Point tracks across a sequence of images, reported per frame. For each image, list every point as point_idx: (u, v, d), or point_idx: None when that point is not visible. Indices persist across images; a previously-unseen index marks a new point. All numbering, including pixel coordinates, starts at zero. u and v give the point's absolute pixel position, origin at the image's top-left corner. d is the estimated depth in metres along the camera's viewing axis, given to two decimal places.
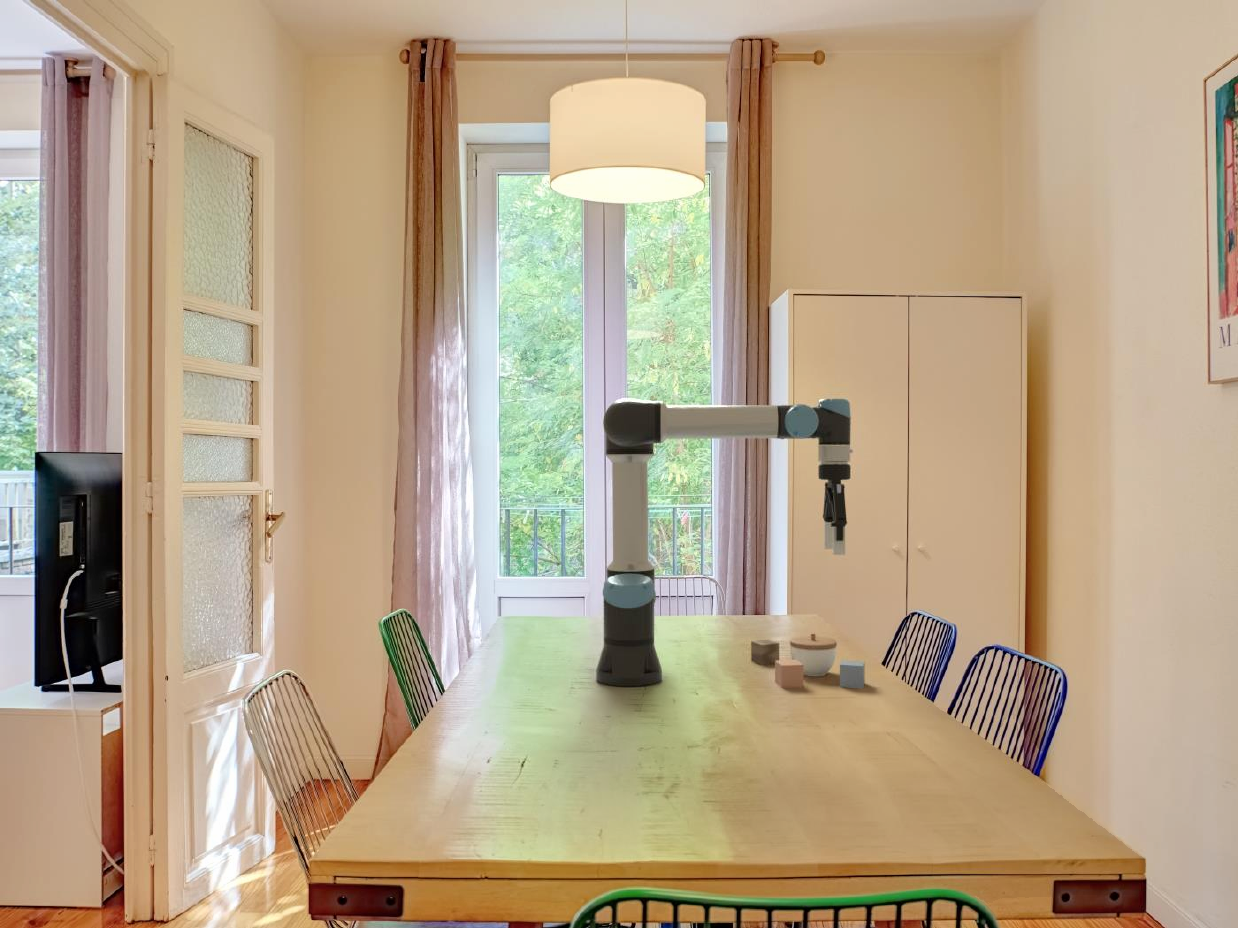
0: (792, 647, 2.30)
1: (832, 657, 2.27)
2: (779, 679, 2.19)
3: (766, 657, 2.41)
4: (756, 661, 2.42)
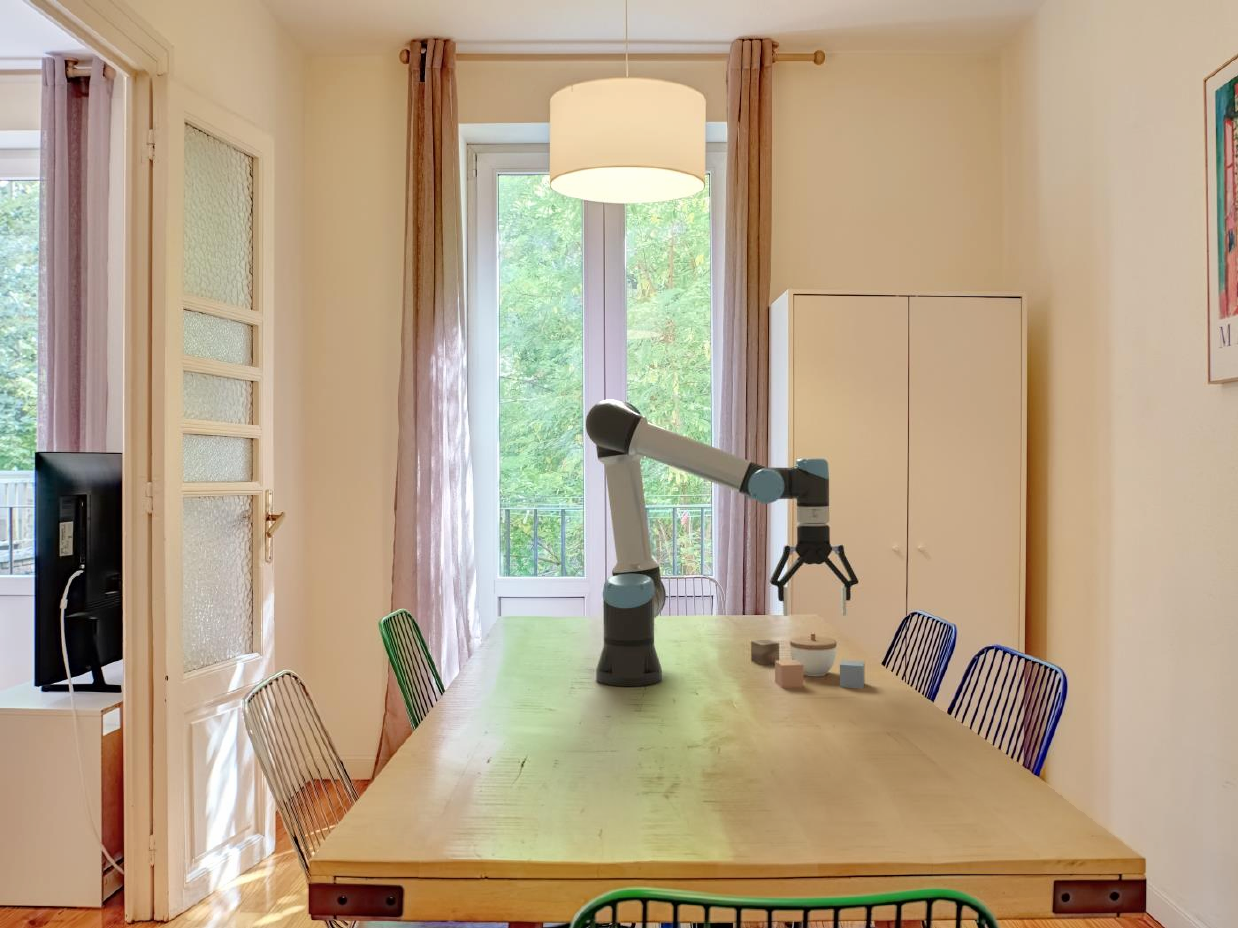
0: (792, 647, 2.30)
1: (832, 657, 2.27)
2: (779, 679, 2.19)
3: (766, 657, 2.41)
4: (756, 661, 2.42)
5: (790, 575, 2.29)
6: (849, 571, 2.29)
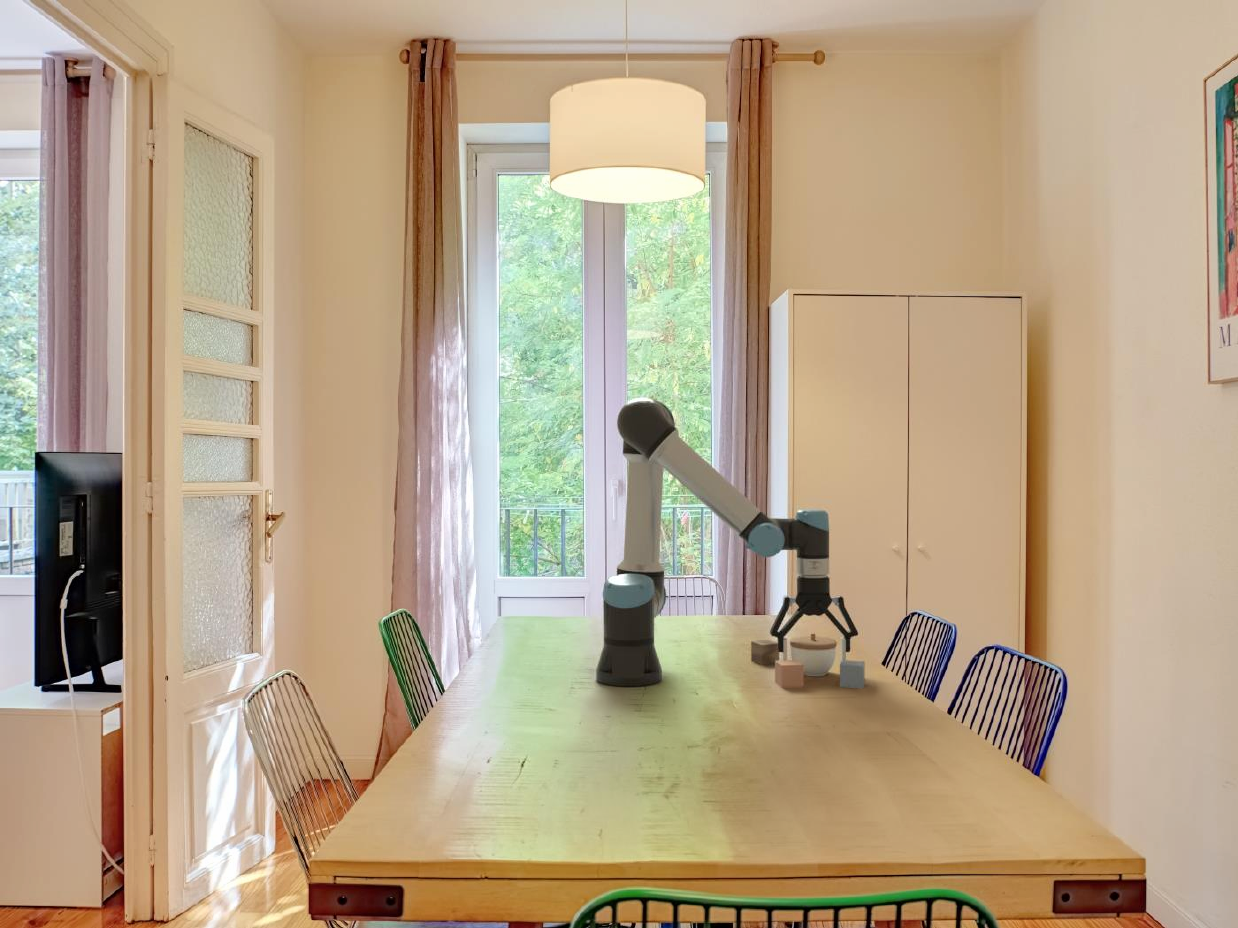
0: (792, 647, 2.30)
1: (832, 657, 2.27)
2: (779, 679, 2.19)
3: (766, 657, 2.41)
4: (756, 661, 2.42)
5: (790, 626, 2.30)
6: (849, 623, 2.29)
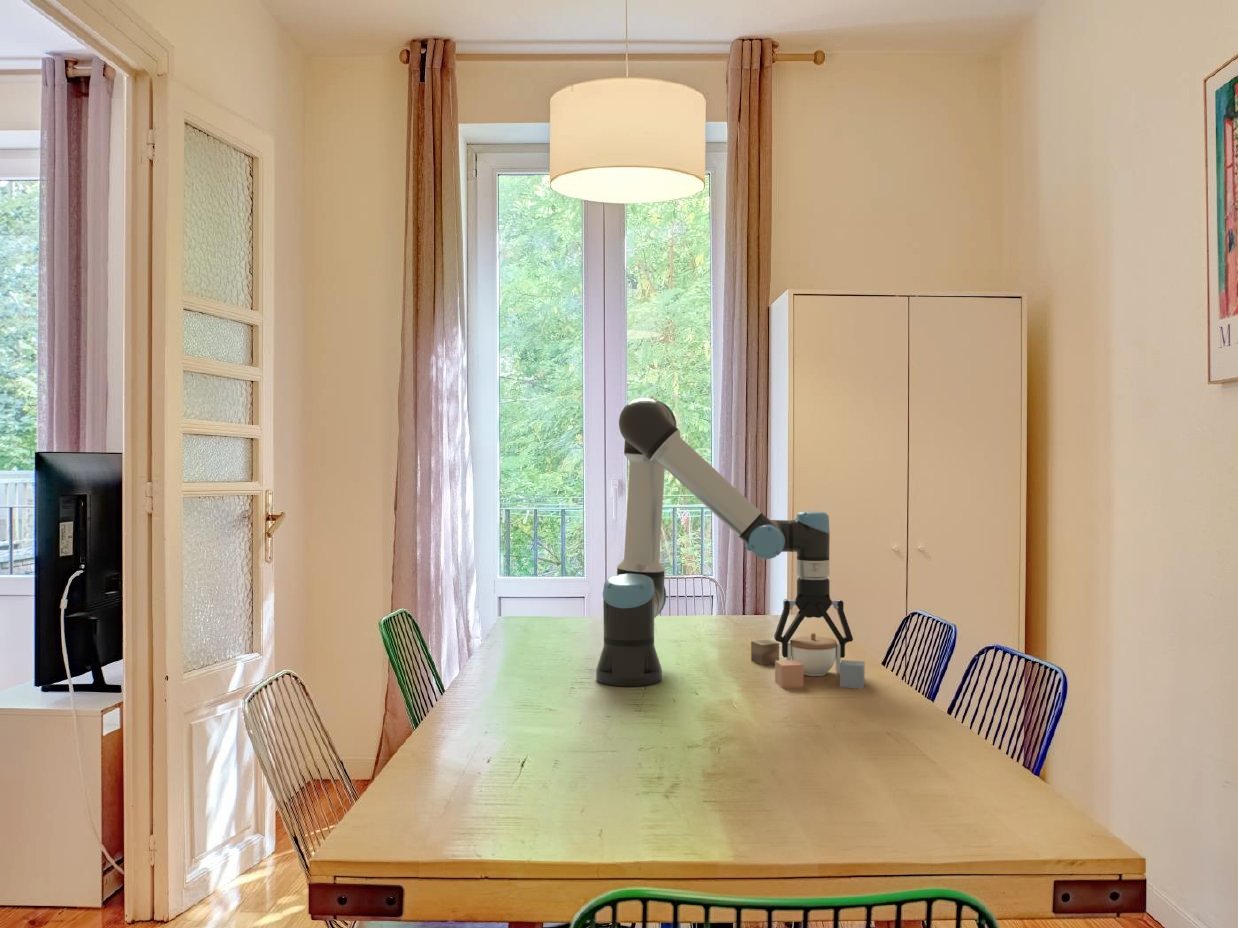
0: (792, 647, 2.30)
1: (832, 657, 2.27)
2: (779, 679, 2.19)
3: (766, 657, 2.41)
4: (756, 661, 2.42)
5: (793, 630, 2.30)
6: (845, 628, 2.29)
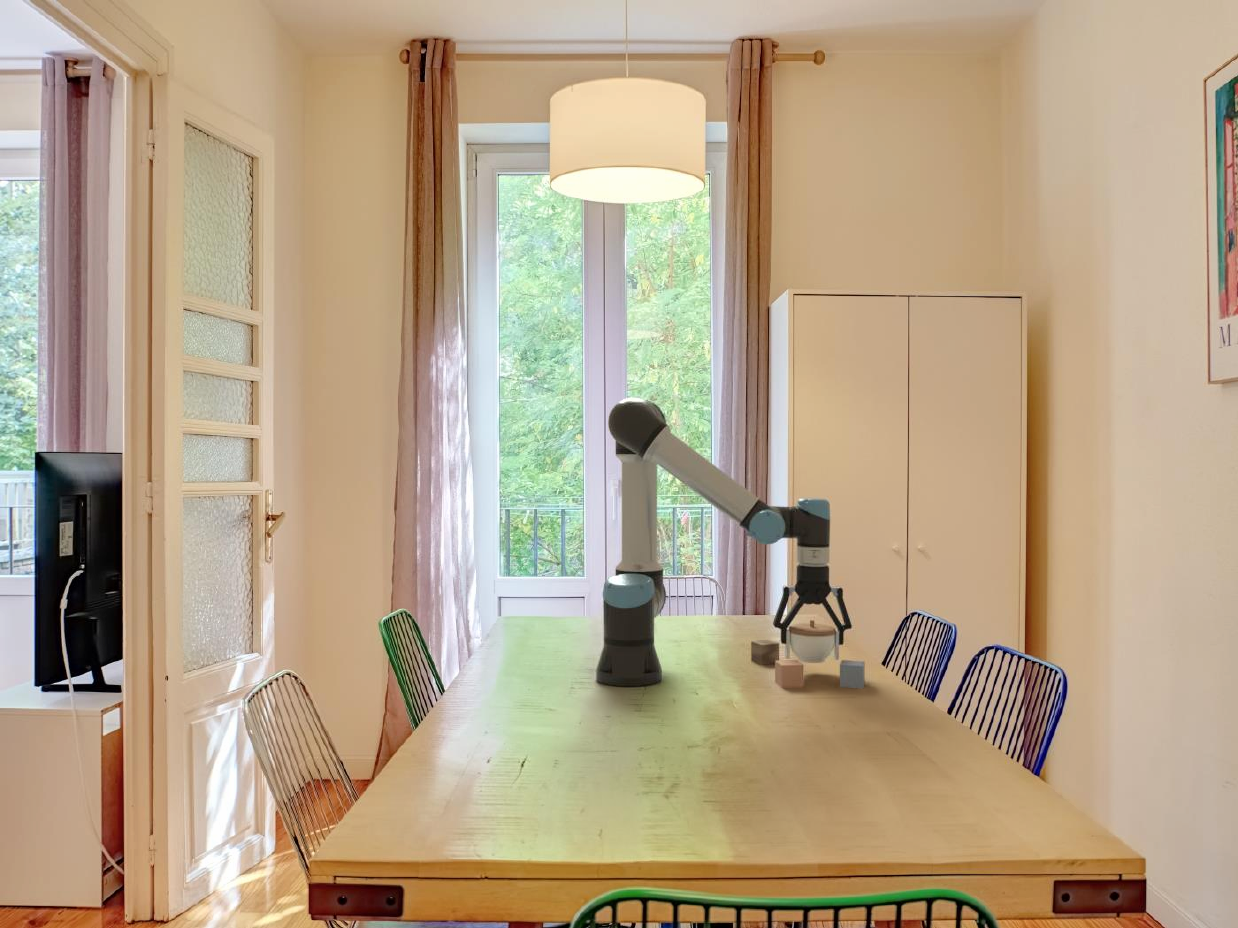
0: (791, 633, 2.30)
1: (830, 644, 2.27)
2: (779, 679, 2.19)
3: (766, 657, 2.41)
4: (756, 661, 2.42)
5: (792, 617, 2.30)
6: (844, 615, 2.29)
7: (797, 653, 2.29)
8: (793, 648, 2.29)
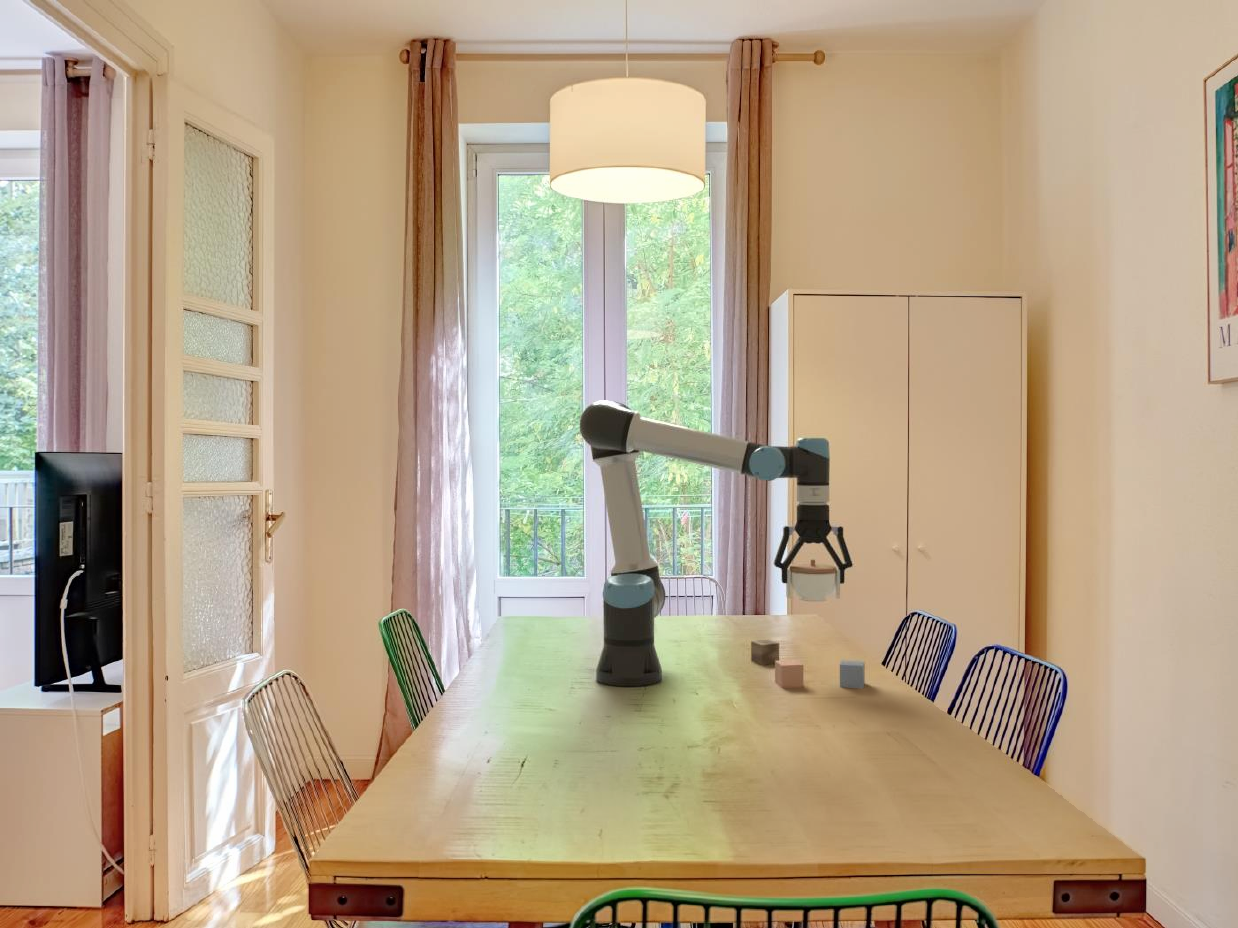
0: (792, 573, 2.30)
1: (831, 582, 2.27)
2: (779, 679, 2.19)
3: (766, 657, 2.41)
4: (756, 661, 2.42)
5: (792, 556, 2.30)
6: (845, 553, 2.29)
7: (798, 592, 2.28)
8: (794, 587, 2.29)
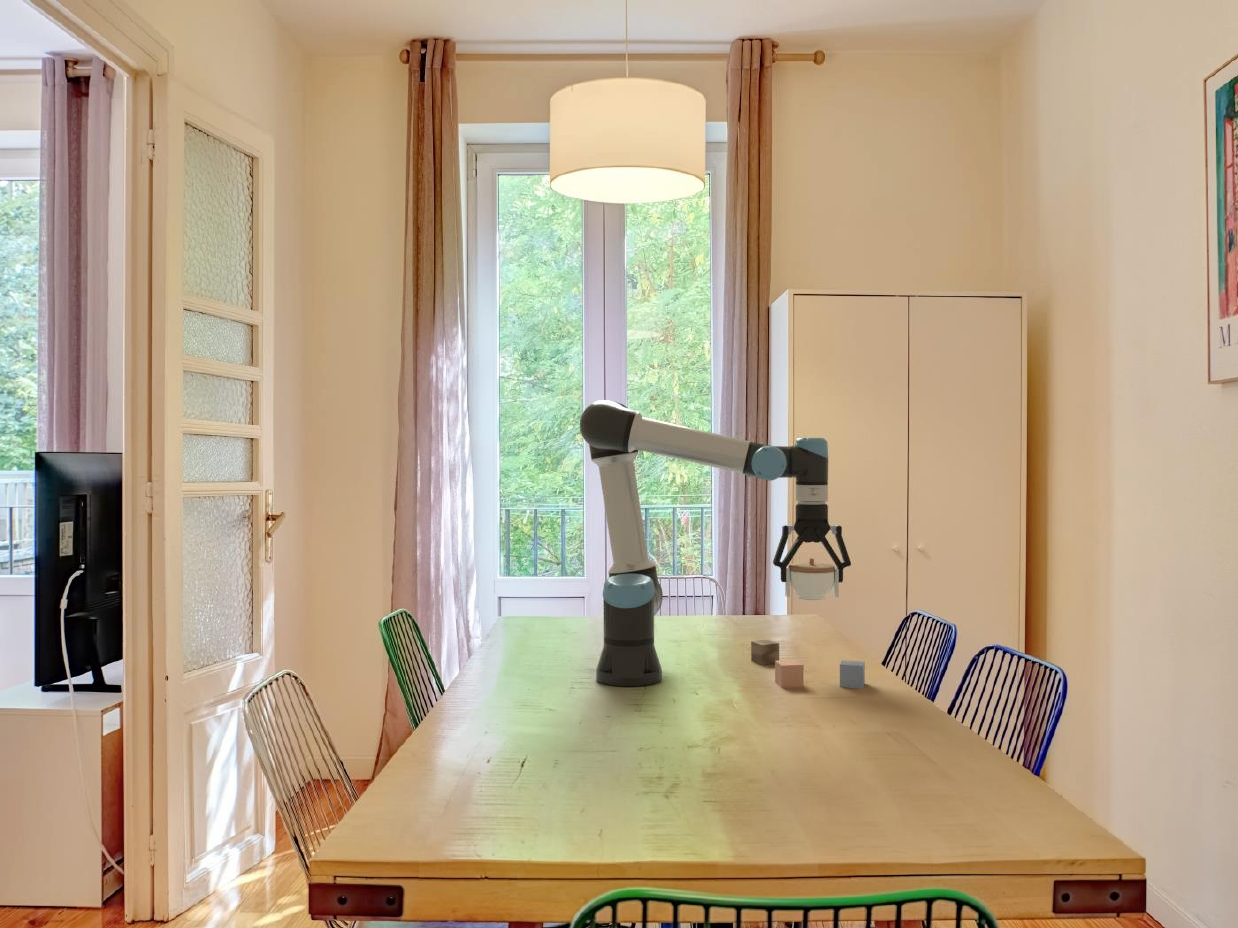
0: (791, 571, 2.31)
1: (830, 580, 2.29)
2: (779, 679, 2.19)
3: (766, 657, 2.41)
4: (756, 661, 2.42)
5: (791, 555, 2.31)
6: (843, 552, 2.31)
7: (797, 591, 2.30)
8: (793, 586, 2.31)
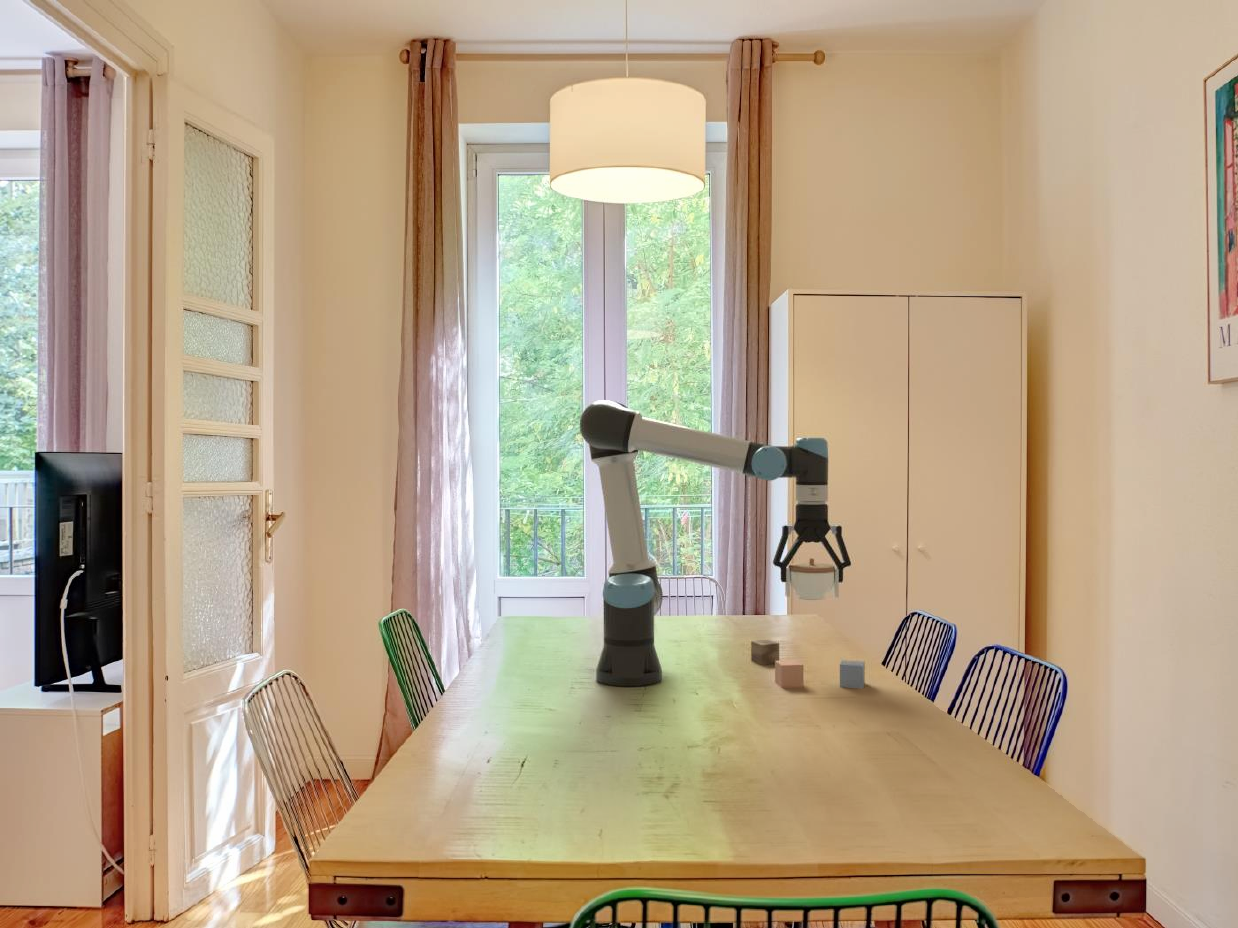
0: (791, 571, 2.31)
1: (830, 580, 2.29)
2: (779, 679, 2.19)
3: (766, 657, 2.41)
4: (756, 661, 2.42)
5: (791, 555, 2.31)
6: (843, 552, 2.31)
7: (797, 591, 2.30)
8: (793, 586, 2.31)
